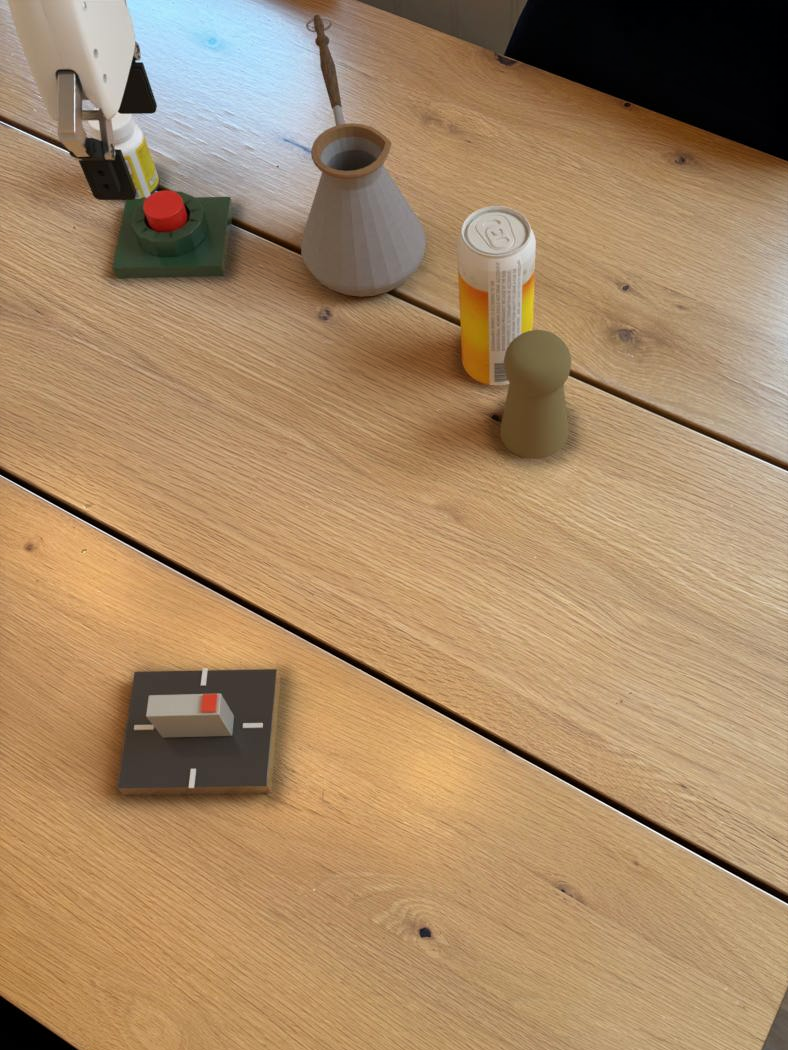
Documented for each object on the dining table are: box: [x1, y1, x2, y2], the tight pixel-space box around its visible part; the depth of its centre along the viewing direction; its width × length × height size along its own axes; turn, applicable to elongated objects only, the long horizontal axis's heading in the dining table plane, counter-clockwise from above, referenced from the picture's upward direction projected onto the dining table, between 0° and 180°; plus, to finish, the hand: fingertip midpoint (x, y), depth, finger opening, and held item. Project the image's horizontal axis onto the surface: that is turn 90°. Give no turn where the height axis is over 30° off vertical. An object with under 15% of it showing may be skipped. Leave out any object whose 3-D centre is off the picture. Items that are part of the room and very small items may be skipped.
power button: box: [143, 190, 188, 232], centre depth 96 cm, size 4×4×2 cm
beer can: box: [456, 205, 537, 386], centre depth 86 cm, size 6×6×15 cm
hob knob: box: [146, 694, 234, 738], centre depth 73 cm, size 5×2×4 cm, turn 91°
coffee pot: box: [300, 14, 427, 298], centre depth 94 cm, size 21×12×15 cm, turn 13°
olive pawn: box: [499, 329, 572, 460], centre depth 84 cm, size 6×6×11 cm
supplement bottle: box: [87, 106, 160, 202], centre depth 100 cm, size 5×5×8 cm
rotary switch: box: [116, 667, 281, 796], centre depth 76 cm, size 10×9×3 cm
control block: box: [111, 190, 234, 279], centre depth 98 cm, size 10×9×4 cm
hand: (127, 153), depth 82 cm, fingers open, 9 cm apart
